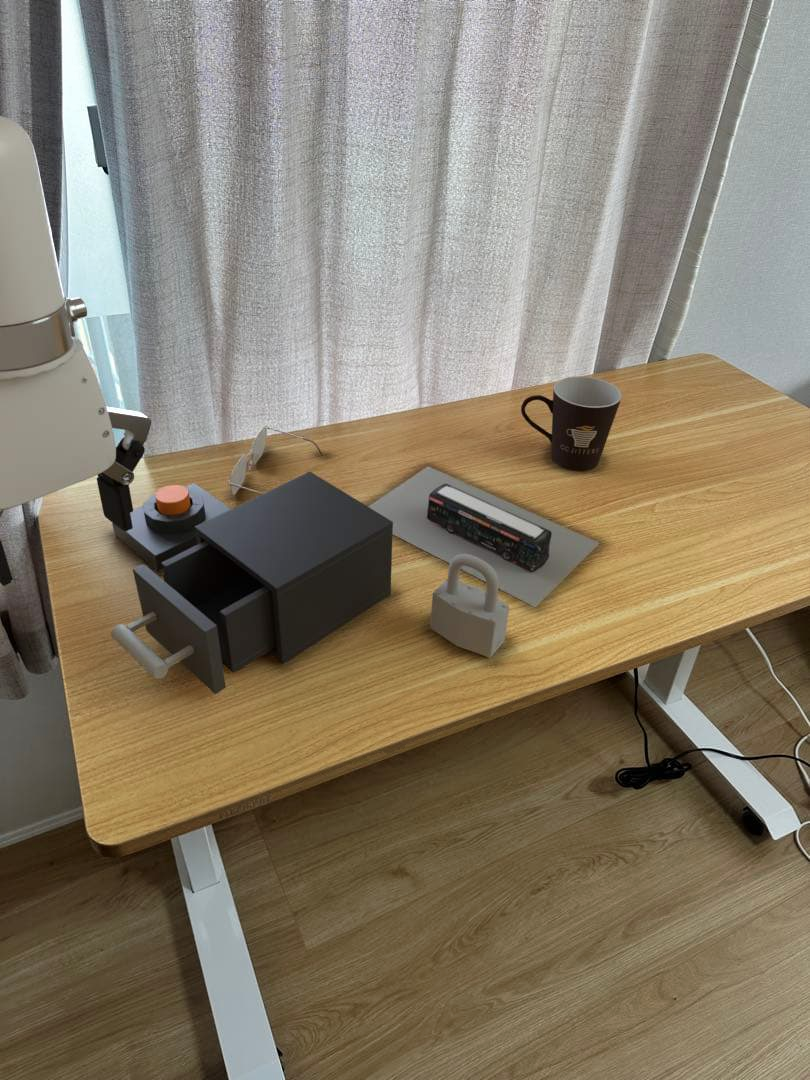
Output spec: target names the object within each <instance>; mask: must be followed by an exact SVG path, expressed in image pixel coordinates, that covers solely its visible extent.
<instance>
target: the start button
mask: <svg viewBox="0 0 810 1080" xmlns="http://www.w3.org/2000/svg"><path fill="white" fill-rule="evenodd" d="M185 487H186V486H184V485H180V484H170V485H164V486H163V487H160V488H159V489H158V490H157V491H156V492H155V493H156V495H155V498H156V503H157V508H158V511H159V512H160V513H162V514H165V515H176V514H181V513H183V512H186V511H187V510H188V509H189V508H190V498H189V492H188V490H187V488H185Z"/></svg>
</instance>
